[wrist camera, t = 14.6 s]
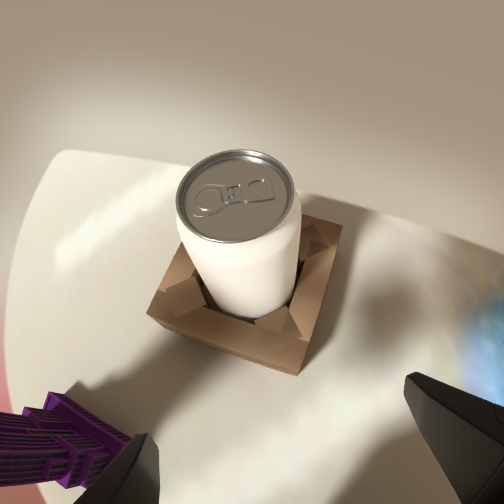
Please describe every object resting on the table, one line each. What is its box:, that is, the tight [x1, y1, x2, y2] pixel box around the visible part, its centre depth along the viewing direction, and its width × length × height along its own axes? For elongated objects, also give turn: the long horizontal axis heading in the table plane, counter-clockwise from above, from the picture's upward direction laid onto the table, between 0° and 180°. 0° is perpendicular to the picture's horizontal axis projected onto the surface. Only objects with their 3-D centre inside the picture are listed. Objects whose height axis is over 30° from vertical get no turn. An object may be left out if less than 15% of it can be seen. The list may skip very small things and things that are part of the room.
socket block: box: [146, 214, 342, 376], centre depth 24 cm, size 11×11×4 cm
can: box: [176, 149, 301, 324], centre depth 20 cm, size 6×6×12 cm
